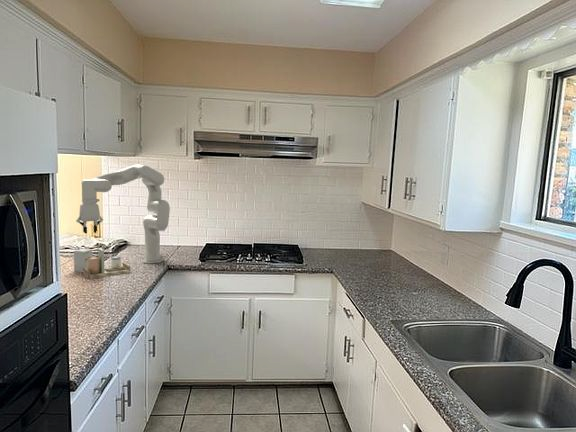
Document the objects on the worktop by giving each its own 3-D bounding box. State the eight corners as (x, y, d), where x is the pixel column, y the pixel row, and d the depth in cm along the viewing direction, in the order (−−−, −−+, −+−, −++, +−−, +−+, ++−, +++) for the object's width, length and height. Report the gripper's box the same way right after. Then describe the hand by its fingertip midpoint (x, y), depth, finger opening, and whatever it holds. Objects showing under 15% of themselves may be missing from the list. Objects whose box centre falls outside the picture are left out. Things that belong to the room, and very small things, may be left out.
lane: (124, 268, 255) (124, 262, 255) (130, 272, 247) (130, 265, 247) (83, 274, 240) (82, 267, 239) (87, 278, 232) (87, 271, 231)
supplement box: (84, 272, 244) (84, 251, 242) (73, 271, 245) (73, 250, 244) (92, 269, 251) (92, 249, 249) (82, 268, 252) (81, 248, 251)
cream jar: (119, 266, 260) (119, 255, 259) (122, 268, 256) (121, 257, 255) (110, 267, 257) (109, 256, 256) (112, 269, 252) (112, 258, 252)
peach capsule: (98, 273, 243) (98, 256, 242) (101, 275, 239) (101, 258, 237) (86, 274, 239) (86, 257, 238) (89, 277, 234) (89, 260, 233)
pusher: (104, 271, 246) (103, 247, 244) (108, 274, 240) (107, 249, 238) (98, 272, 244) (98, 248, 242) (102, 275, 238) (101, 250, 236)
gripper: (103, 200, 241) (103, 230, 243) (71, 201, 230) (72, 233, 232) (107, 201, 235) (107, 232, 237) (74, 202, 224) (75, 235, 227)
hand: (90, 232), depth 235 cm, fingers open, 4 cm apart
